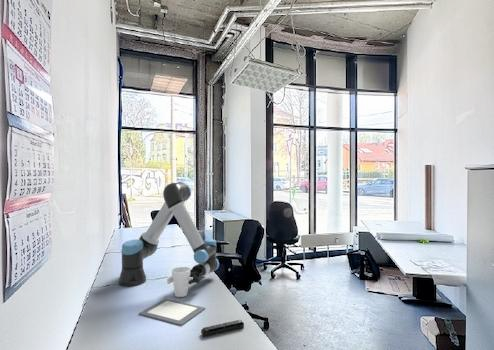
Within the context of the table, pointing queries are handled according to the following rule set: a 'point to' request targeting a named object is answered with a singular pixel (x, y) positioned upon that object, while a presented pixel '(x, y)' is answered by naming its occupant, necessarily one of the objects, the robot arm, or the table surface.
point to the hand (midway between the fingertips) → (175, 282)
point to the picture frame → (172, 311)
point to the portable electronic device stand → (222, 328)
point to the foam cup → (180, 280)
